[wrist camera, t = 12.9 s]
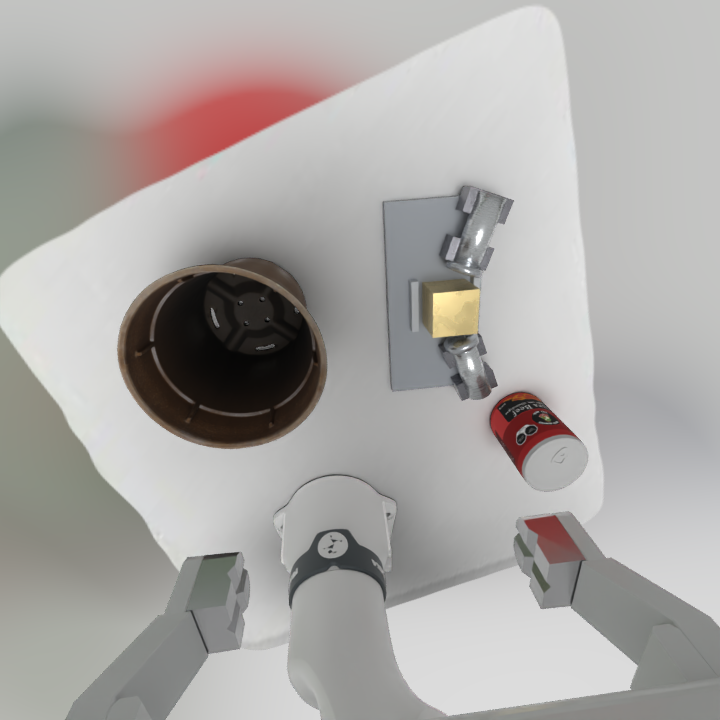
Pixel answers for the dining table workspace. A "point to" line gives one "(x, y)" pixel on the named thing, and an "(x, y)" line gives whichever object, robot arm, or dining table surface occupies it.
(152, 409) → the plant pot
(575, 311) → the dining table surface
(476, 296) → the golden yellow cube
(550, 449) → the canned food
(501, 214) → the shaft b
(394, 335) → the grey base plate
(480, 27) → the dining table surface
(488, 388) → the shaft
